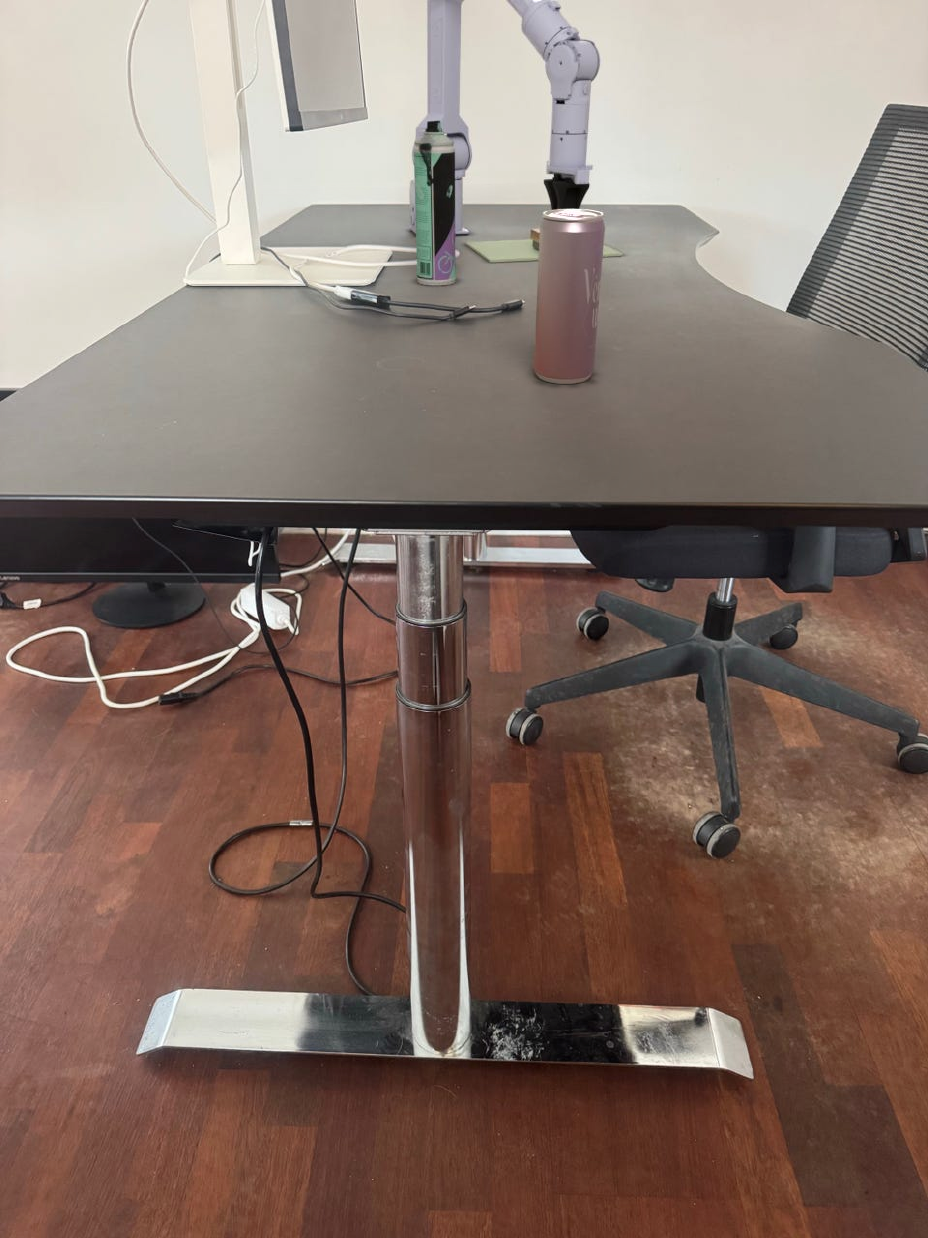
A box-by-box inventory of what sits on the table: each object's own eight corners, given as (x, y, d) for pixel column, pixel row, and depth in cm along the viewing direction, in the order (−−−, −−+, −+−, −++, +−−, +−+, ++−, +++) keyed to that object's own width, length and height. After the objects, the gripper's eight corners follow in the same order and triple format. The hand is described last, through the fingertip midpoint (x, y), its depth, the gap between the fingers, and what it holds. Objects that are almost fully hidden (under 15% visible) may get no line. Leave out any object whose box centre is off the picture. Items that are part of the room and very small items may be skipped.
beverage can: (555, 363, 91) (564, 206, 83) (604, 374, 88) (618, 212, 80) (521, 377, 87) (527, 213, 79) (571, 389, 84) (583, 220, 76)
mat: (490, 262, 136) (490, 259, 135) (465, 244, 149) (465, 241, 149) (622, 255, 140) (622, 253, 140) (586, 238, 153) (587, 236, 153)
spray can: (455, 285, 122) (454, 121, 111) (416, 285, 122) (411, 121, 111) (456, 277, 127) (455, 118, 116) (418, 277, 127) (414, 118, 116)
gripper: (611, 136, 130) (603, 234, 137) (577, 129, 142) (571, 220, 149) (566, 136, 128) (560, 236, 136) (535, 129, 140) (532, 221, 147)
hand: (563, 228), depth 142 cm, fingers closed on brush, 2 cm apart
